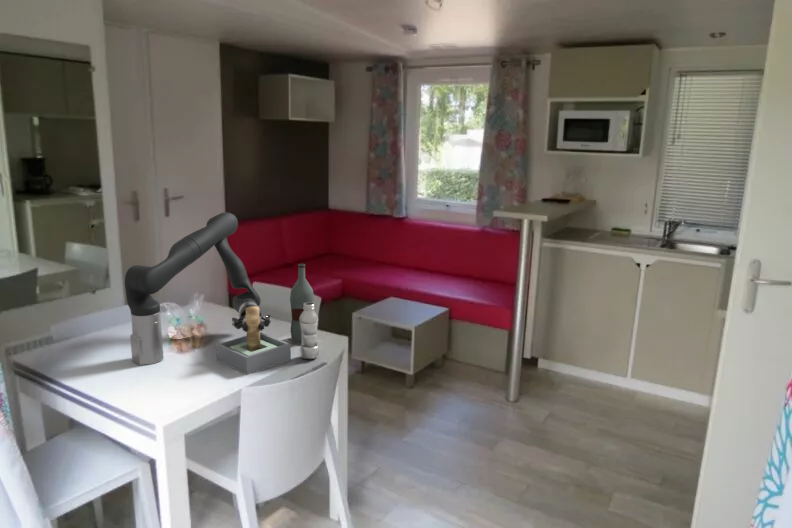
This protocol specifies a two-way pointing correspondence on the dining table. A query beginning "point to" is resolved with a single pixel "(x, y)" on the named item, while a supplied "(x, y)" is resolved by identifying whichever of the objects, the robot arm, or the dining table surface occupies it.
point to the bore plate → (243, 350)
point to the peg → (253, 328)
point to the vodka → (299, 302)
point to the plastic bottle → (309, 332)
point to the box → (256, 360)
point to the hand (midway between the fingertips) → (253, 328)
